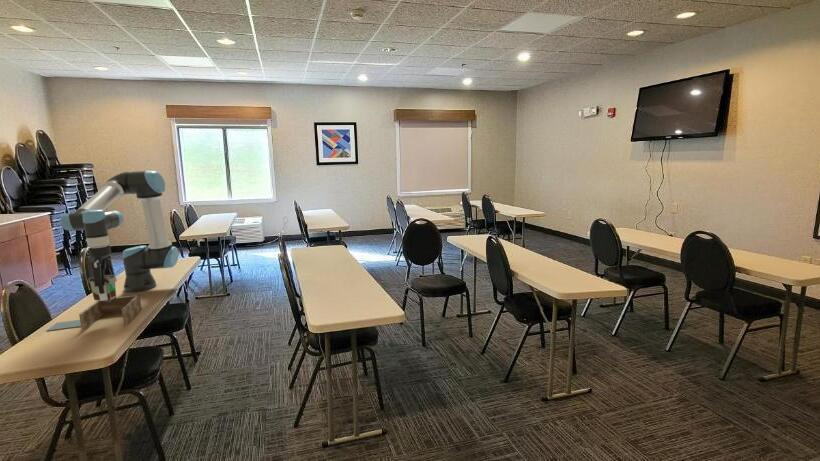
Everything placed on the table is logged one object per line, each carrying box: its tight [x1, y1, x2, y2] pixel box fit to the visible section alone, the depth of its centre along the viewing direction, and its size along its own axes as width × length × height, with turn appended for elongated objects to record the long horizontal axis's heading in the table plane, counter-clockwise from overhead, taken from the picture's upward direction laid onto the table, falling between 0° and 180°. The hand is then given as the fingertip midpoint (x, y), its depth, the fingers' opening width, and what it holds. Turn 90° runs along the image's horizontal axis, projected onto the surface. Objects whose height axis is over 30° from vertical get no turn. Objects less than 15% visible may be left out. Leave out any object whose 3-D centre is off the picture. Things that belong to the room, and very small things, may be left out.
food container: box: [88, 275, 118, 302], centre depth 179 cm, size 12×6×10 cm, turn 75°
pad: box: [45, 319, 81, 332], centre depth 178 cm, size 9×14×1 cm, turn 108°
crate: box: [78, 294, 142, 331], centre depth 182 cm, size 20×16×7 cm
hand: (108, 296), depth 179 cm, fingers closed on food container, 8 cm apart
